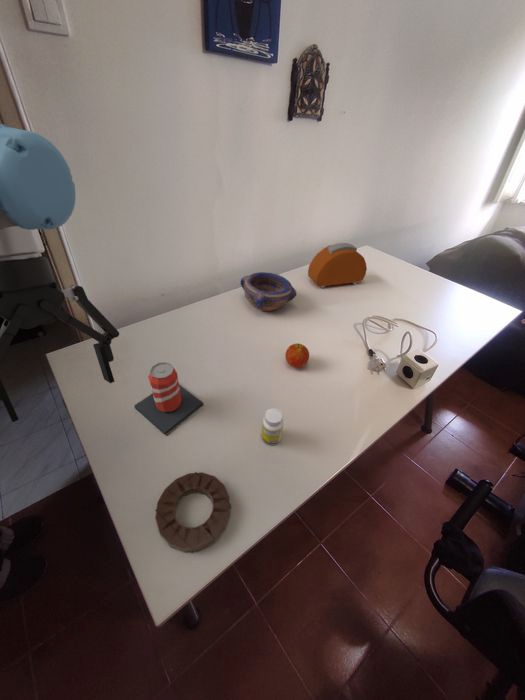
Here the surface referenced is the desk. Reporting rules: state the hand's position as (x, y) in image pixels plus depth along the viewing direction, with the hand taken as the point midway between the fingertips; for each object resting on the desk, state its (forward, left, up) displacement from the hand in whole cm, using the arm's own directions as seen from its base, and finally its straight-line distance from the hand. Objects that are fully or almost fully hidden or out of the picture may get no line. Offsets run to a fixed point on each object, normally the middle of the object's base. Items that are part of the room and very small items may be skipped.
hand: (66, 397), depth 49 cm
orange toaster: (+110, +7, -24) cm, 113 cm away
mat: (+20, +5, -24) cm, 32 cm away
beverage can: (+20, +5, -23) cm, 31 cm away
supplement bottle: (+30, -20, -24) cm, 43 cm away
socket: (+7, -19, -24) cm, 32 cm away
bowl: (+75, +17, -24) cm, 80 cm away
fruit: (+55, -10, -24) cm, 61 cm away
